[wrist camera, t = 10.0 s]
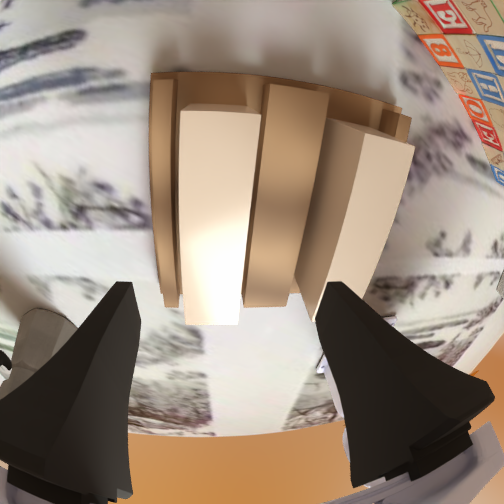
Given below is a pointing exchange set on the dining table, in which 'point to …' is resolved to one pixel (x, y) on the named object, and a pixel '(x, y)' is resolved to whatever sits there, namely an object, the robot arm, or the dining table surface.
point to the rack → (266, 168)
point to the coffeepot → (34, 346)
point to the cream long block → (350, 208)
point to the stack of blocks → (468, 60)
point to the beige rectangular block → (215, 207)
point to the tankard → (501, 286)
